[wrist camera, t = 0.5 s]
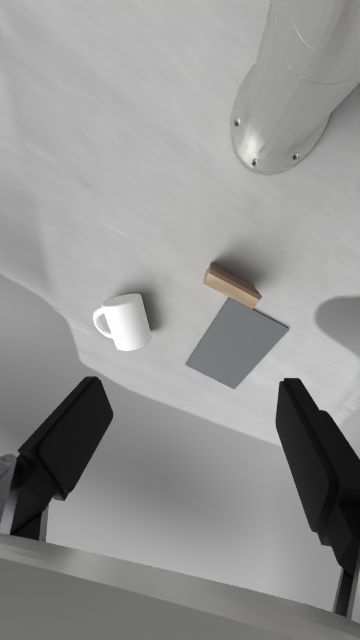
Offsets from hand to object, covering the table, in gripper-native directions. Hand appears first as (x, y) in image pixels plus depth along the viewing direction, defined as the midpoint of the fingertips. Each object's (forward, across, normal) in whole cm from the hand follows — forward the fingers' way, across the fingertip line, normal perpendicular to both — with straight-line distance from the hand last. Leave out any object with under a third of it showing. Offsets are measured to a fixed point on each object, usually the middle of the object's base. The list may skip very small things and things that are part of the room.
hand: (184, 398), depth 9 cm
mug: (+30, +19, +6) cm, 36 cm away
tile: (+30, -5, 0) cm, 30 cm away
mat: (+30, -5, +16) cm, 34 cm away
